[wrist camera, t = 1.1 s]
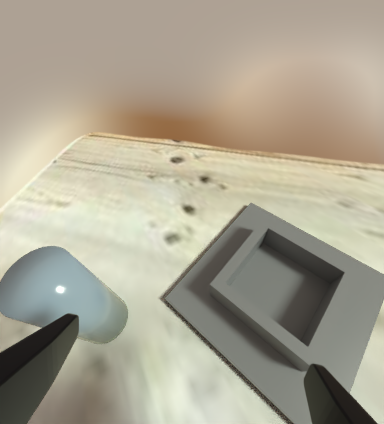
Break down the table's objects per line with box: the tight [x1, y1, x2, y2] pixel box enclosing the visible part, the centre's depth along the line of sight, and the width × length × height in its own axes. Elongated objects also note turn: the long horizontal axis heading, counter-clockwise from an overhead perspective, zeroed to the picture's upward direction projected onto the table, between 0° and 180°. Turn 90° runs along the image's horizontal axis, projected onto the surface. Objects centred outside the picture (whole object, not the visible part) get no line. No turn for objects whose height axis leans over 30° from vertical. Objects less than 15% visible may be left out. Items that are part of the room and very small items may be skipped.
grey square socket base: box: [165, 203, 384, 424], centre depth 21 cm, size 16×16×4 cm
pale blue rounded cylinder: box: [0, 246, 128, 344], centre depth 18 cm, size 4×4×11 cm
